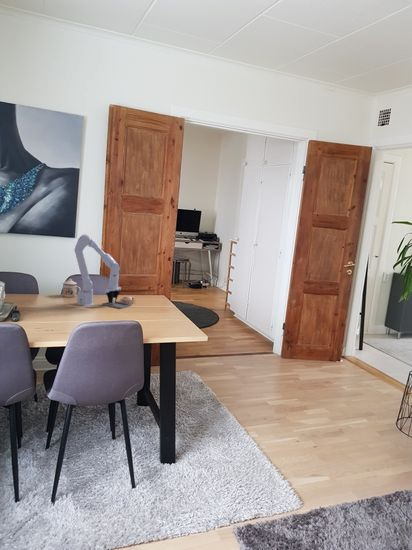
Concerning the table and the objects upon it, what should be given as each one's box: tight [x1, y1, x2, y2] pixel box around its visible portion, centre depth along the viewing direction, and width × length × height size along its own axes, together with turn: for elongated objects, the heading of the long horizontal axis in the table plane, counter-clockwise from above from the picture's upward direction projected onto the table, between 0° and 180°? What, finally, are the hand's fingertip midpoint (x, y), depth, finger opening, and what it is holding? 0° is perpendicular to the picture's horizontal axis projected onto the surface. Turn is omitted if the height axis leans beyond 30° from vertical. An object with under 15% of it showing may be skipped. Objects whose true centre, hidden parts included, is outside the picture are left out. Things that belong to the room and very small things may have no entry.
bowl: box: [119, 296, 137, 305], centre depth 283 cm, size 10×10×3 cm
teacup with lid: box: [62, 278, 82, 298], centre depth 286 cm, size 12×9×12 cm
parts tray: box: [101, 300, 132, 310], centre depth 271 cm, size 12×14×2 cm
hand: (112, 302), depth 272 cm, fingers closed on stone pebble near, 4 cm apart
